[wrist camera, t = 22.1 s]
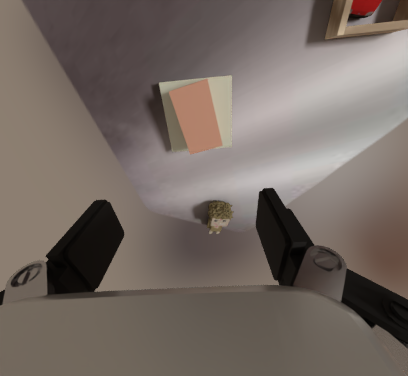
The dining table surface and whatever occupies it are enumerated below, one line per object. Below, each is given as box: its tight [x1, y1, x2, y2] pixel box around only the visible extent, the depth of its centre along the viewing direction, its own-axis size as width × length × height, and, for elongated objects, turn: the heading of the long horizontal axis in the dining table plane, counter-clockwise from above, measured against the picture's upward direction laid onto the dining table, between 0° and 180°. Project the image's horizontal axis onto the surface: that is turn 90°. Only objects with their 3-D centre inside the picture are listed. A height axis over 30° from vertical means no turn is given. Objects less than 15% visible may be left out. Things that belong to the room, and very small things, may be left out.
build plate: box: [159, 75, 232, 152], centre depth 37 cm, size 14×14×2 cm
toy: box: [207, 201, 234, 234], centre depth 53 cm, size 7×7×15 cm
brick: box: [169, 79, 223, 154], centre depth 34 cm, size 12×7×4 cm, turn 16°
